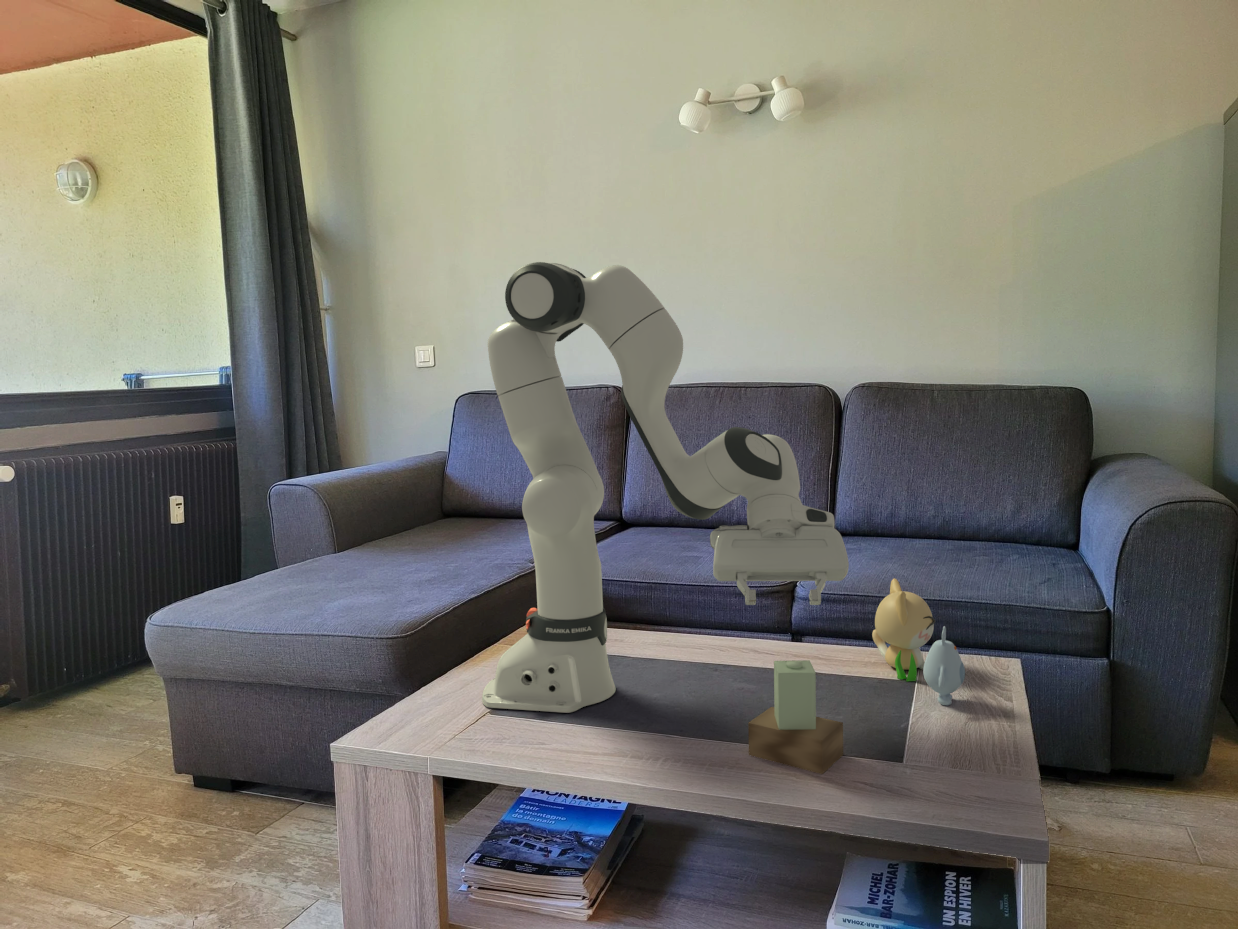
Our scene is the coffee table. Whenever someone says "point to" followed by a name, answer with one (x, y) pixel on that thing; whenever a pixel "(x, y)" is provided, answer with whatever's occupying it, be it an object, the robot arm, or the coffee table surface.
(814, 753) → the base brick
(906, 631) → the kitten
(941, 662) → the toy figure
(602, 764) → the coffee table surface
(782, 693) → the green brick
